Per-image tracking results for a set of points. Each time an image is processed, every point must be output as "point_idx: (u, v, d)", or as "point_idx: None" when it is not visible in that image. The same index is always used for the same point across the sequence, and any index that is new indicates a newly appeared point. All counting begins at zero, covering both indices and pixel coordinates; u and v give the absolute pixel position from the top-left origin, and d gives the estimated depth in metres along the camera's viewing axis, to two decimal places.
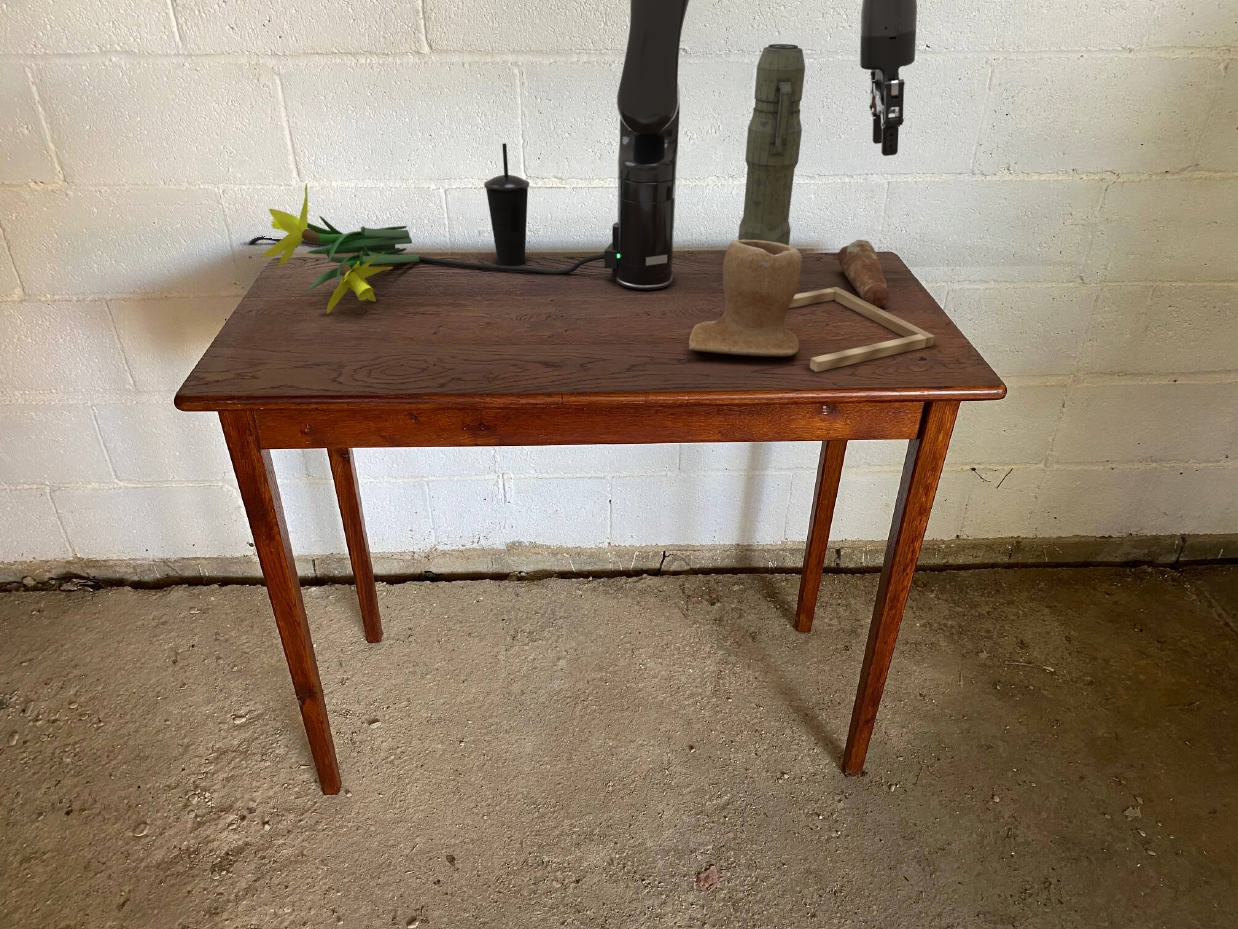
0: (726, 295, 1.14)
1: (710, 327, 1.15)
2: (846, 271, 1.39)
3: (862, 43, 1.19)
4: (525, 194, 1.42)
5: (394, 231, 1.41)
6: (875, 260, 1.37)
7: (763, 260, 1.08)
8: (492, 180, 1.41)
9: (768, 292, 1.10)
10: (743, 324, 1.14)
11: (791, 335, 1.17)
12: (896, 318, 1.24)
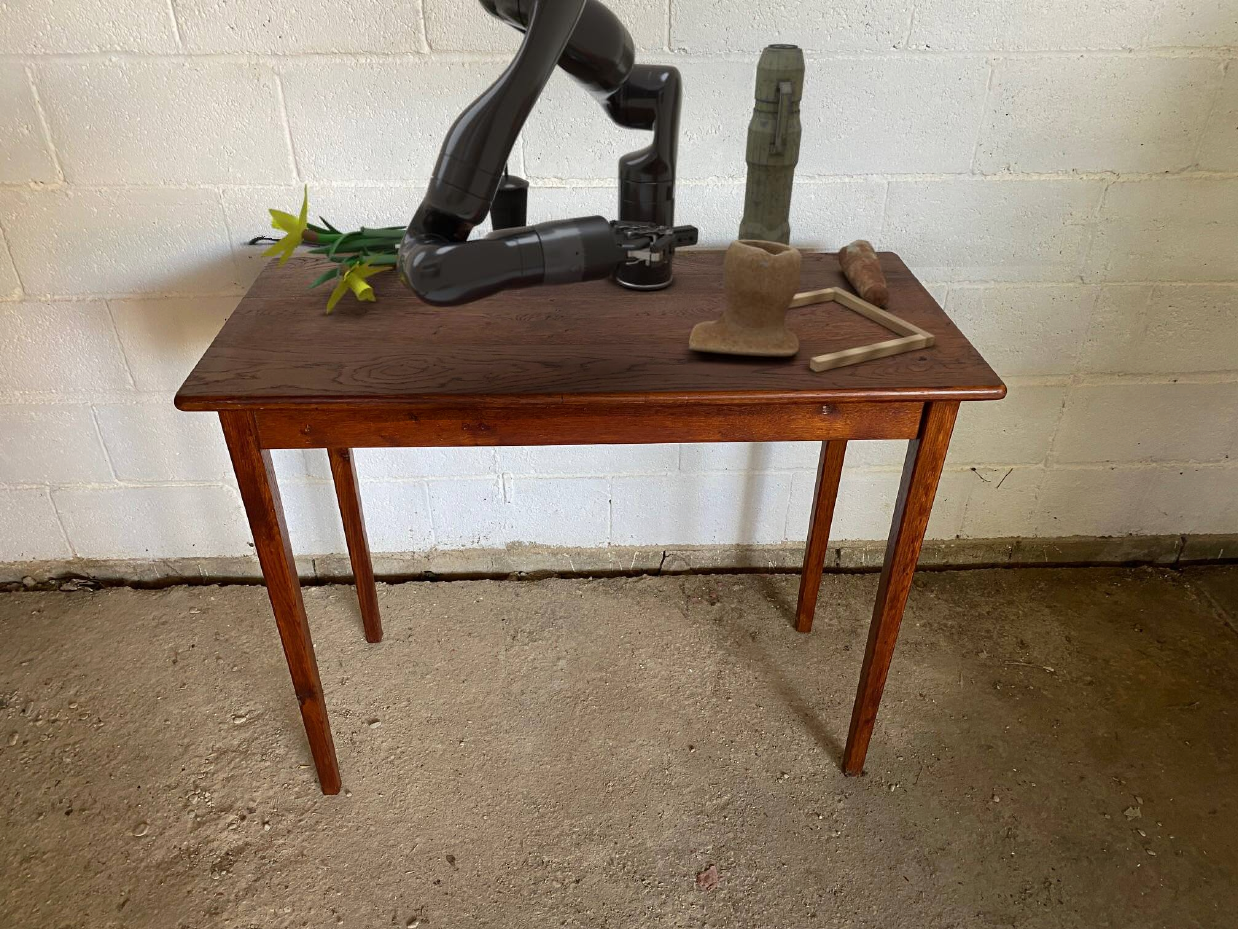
0: (726, 295, 1.14)
1: (710, 327, 1.15)
2: (846, 271, 1.39)
3: None
4: (525, 194, 1.42)
5: (394, 231, 1.42)
6: (875, 260, 1.37)
7: (763, 260, 1.08)
8: None
9: (768, 291, 1.10)
10: (743, 324, 1.14)
11: (791, 335, 1.17)
12: (896, 318, 1.24)
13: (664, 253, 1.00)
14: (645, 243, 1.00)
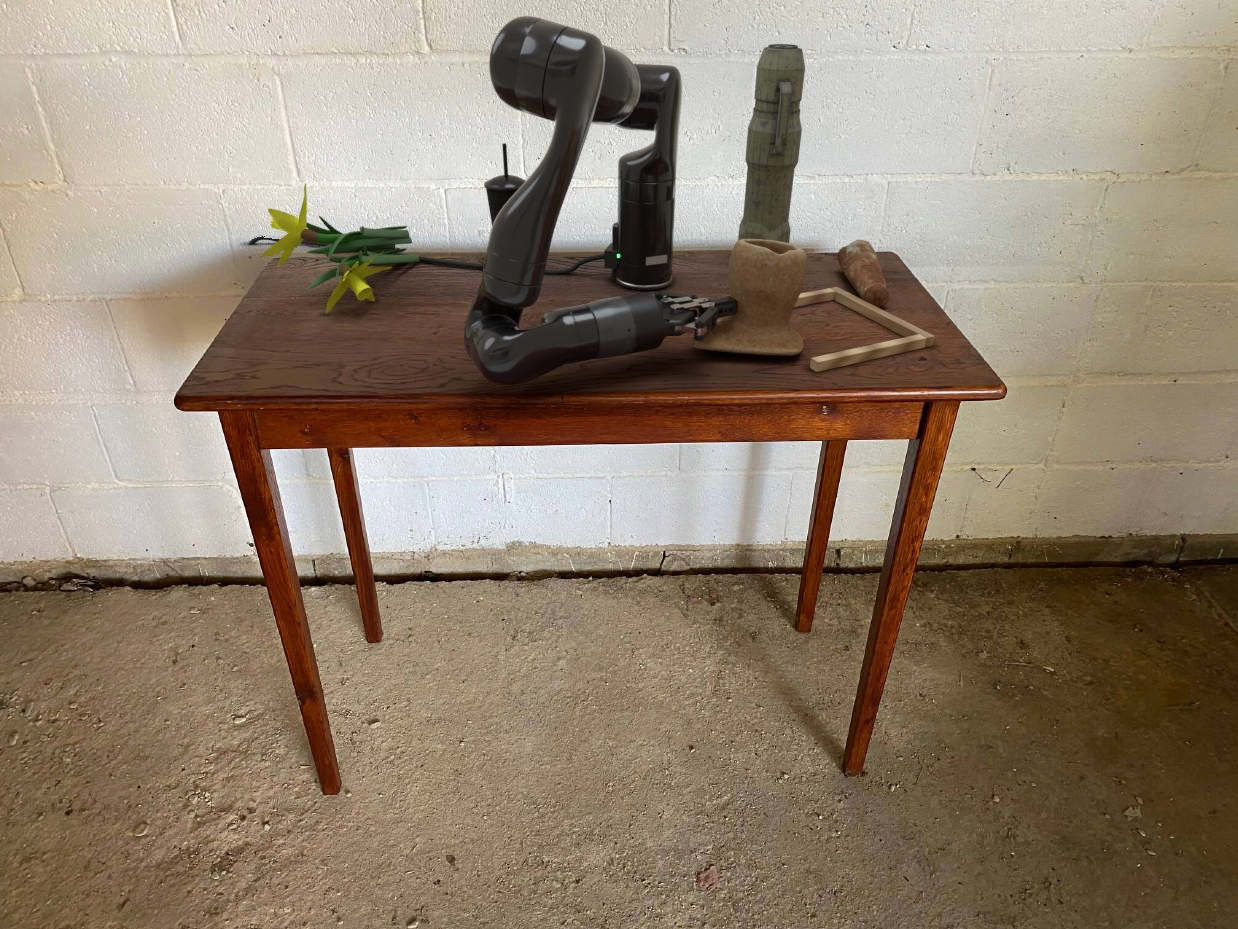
0: (731, 294, 1.14)
1: None
2: (846, 271, 1.39)
3: (626, 295, 1.07)
4: None
5: (394, 231, 1.42)
6: (875, 260, 1.37)
7: (768, 259, 1.09)
8: (492, 180, 1.41)
9: (773, 291, 1.10)
10: (747, 323, 1.14)
11: (796, 334, 1.17)
12: (896, 318, 1.24)
13: (708, 327, 1.08)
14: (689, 318, 1.08)
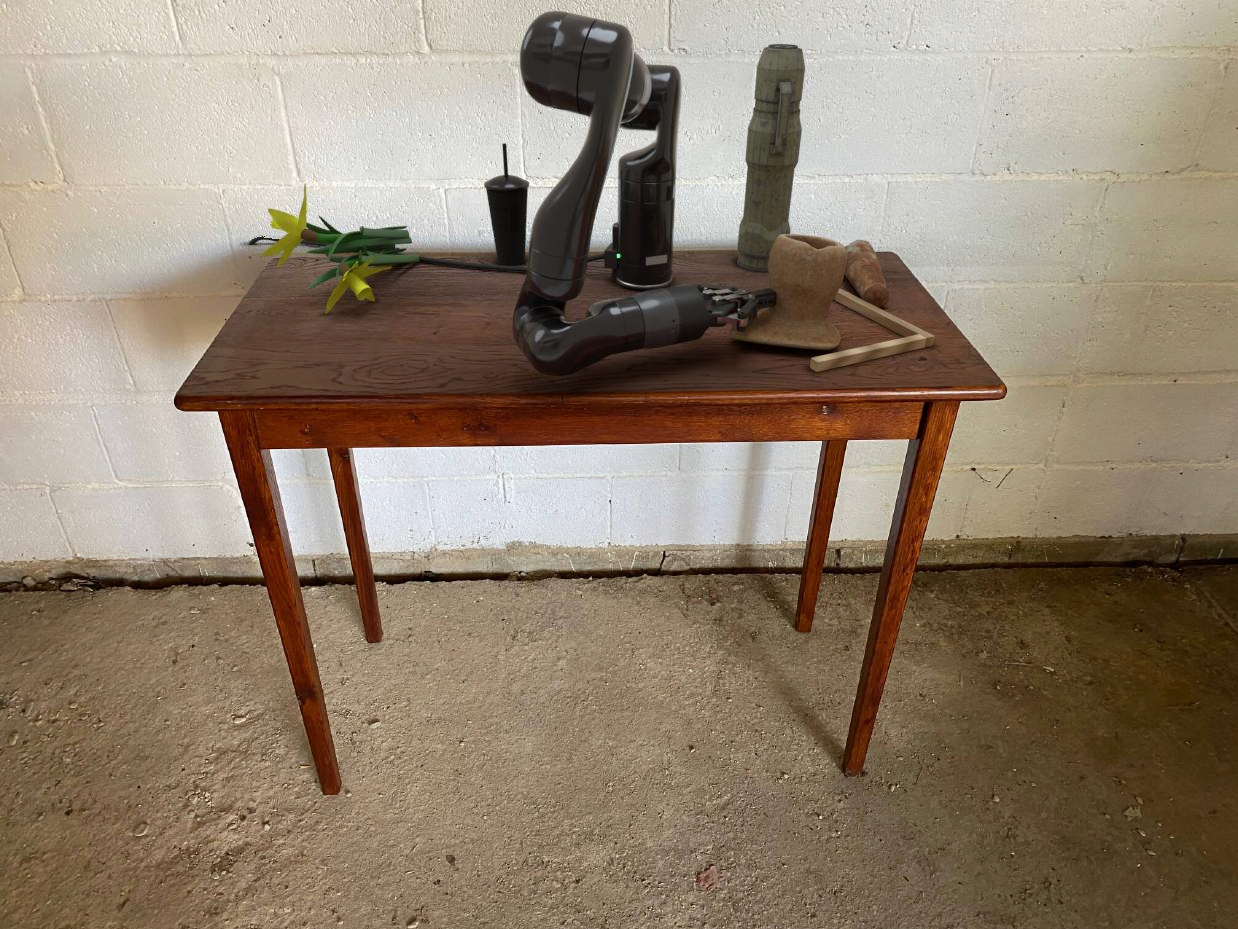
0: (770, 287, 1.17)
1: None
2: (846, 271, 1.39)
3: (669, 287, 1.09)
4: (525, 194, 1.42)
5: (394, 231, 1.42)
6: (875, 260, 1.37)
7: (806, 254, 1.11)
8: (492, 180, 1.41)
9: (810, 285, 1.12)
10: (785, 316, 1.16)
11: (834, 330, 1.18)
12: (896, 318, 1.24)
13: (749, 318, 1.10)
14: (731, 309, 1.11)
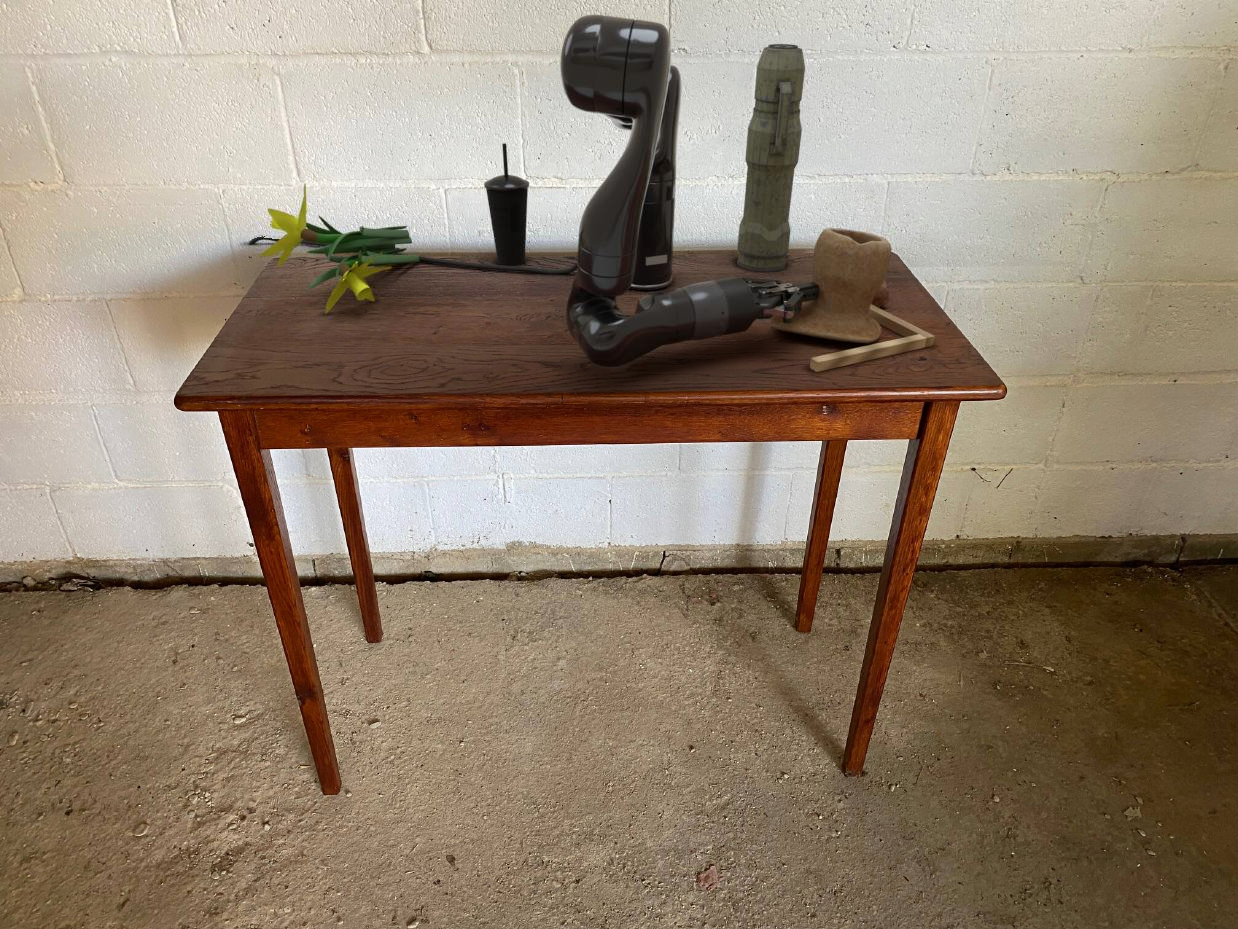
0: (813, 279, 1.19)
1: None
2: None
3: (718, 280, 1.12)
4: (525, 194, 1.42)
5: (394, 231, 1.42)
6: None
7: (848, 248, 1.13)
8: (492, 180, 1.41)
9: (851, 278, 1.15)
10: (825, 308, 1.19)
11: (875, 324, 1.20)
12: (896, 318, 1.24)
13: (795, 310, 1.13)
14: (777, 302, 1.13)
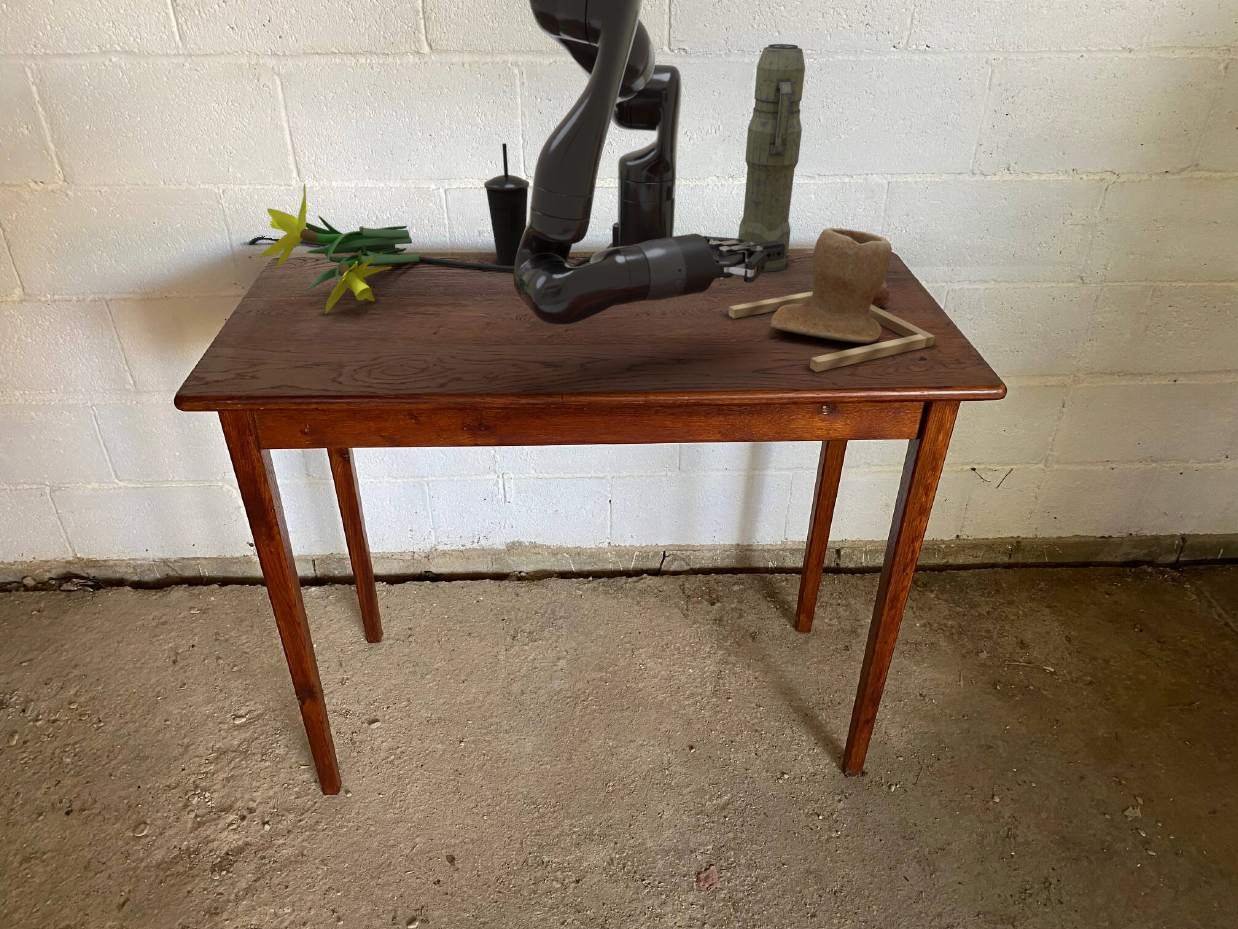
0: (813, 279, 1.19)
1: (795, 309, 1.21)
2: None
3: (675, 236, 1.06)
4: (525, 194, 1.42)
5: (394, 231, 1.42)
6: None
7: (848, 248, 1.13)
8: (492, 180, 1.41)
9: (851, 278, 1.15)
10: (825, 308, 1.19)
11: (875, 324, 1.20)
12: (896, 318, 1.24)
13: (757, 269, 1.07)
14: (739, 260, 1.07)
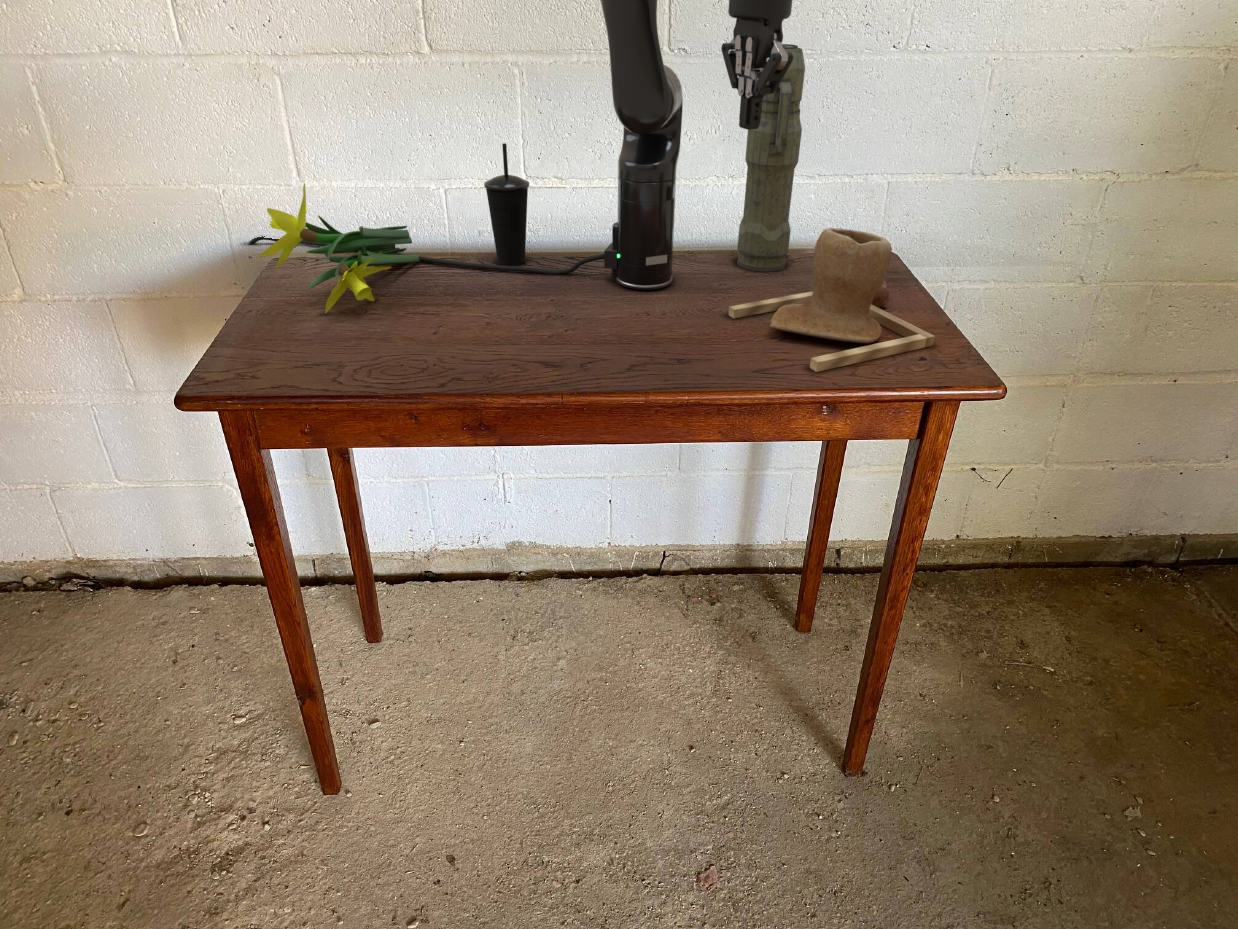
0: (813, 279, 1.19)
1: (795, 309, 1.21)
2: None
3: None
4: (525, 194, 1.42)
5: (394, 231, 1.42)
6: None
7: (848, 248, 1.13)
8: (492, 180, 1.41)
9: (851, 278, 1.15)
10: (825, 308, 1.19)
11: (875, 324, 1.20)
12: (896, 318, 1.24)
13: None
14: None
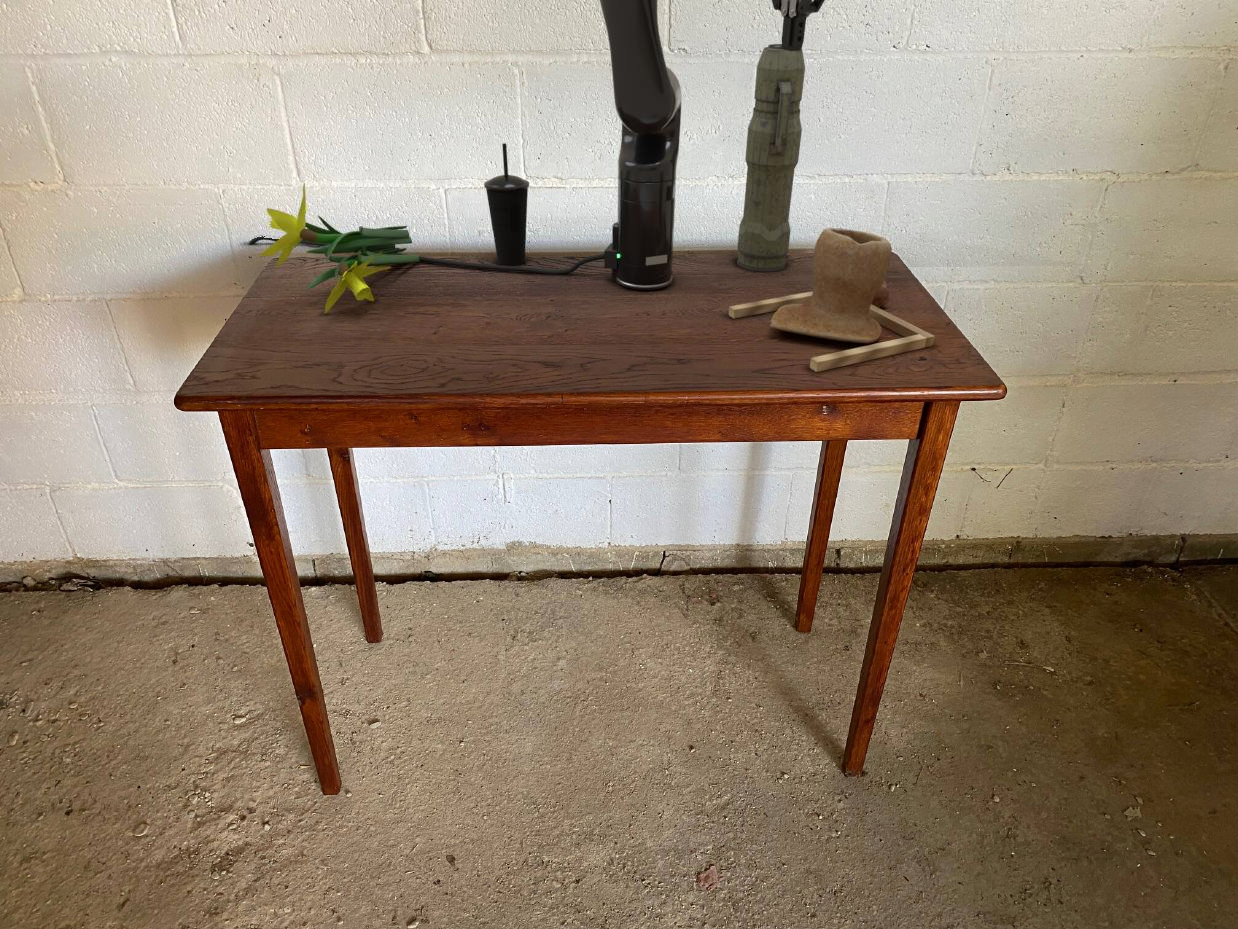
0: (813, 279, 1.19)
1: (795, 309, 1.21)
2: None
3: None
4: (525, 194, 1.42)
5: (394, 231, 1.42)
6: None
7: (848, 248, 1.13)
8: (492, 180, 1.41)
9: (851, 278, 1.15)
10: (825, 308, 1.19)
11: (875, 324, 1.20)
12: (896, 318, 1.24)
13: None
14: None
